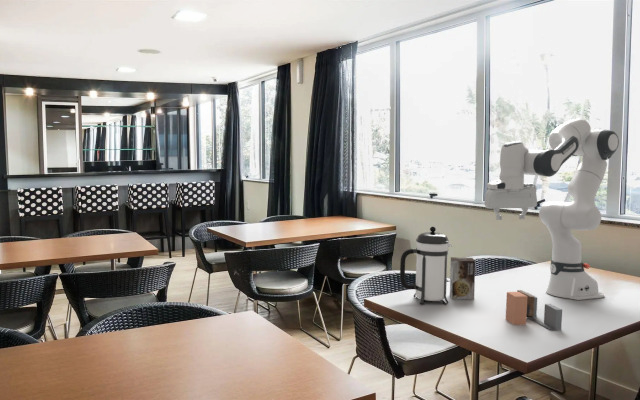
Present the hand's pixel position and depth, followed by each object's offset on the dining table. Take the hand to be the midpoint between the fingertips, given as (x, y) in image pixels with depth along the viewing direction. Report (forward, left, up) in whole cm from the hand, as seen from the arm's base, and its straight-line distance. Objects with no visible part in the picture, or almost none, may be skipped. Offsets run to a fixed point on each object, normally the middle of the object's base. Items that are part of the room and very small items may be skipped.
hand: (510, 219), depth 202 cm
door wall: (-1, +19, -34) cm, 39 cm away
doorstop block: (+7, +20, -34) cm, 40 cm away
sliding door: (+3, +13, -33) cm, 35 cm away
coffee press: (+30, -8, -34) cm, 46 cm away
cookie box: (+14, -12, -34) cm, 38 cm away
